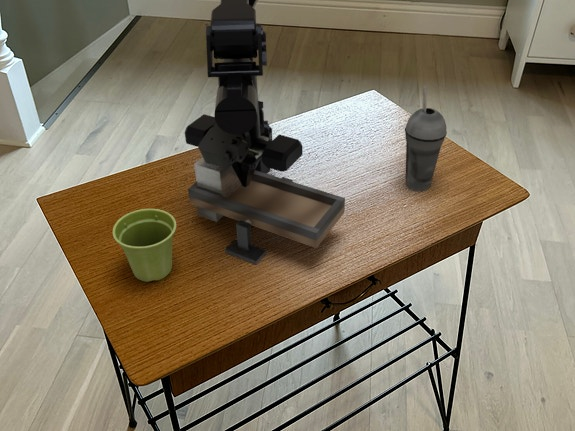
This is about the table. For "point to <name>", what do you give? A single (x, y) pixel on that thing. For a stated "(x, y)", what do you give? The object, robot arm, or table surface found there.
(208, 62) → the robot arm
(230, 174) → the steel rider
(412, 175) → the beverage cup
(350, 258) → the table surface
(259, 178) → the grey tray
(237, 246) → the stand
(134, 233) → the plant pot
